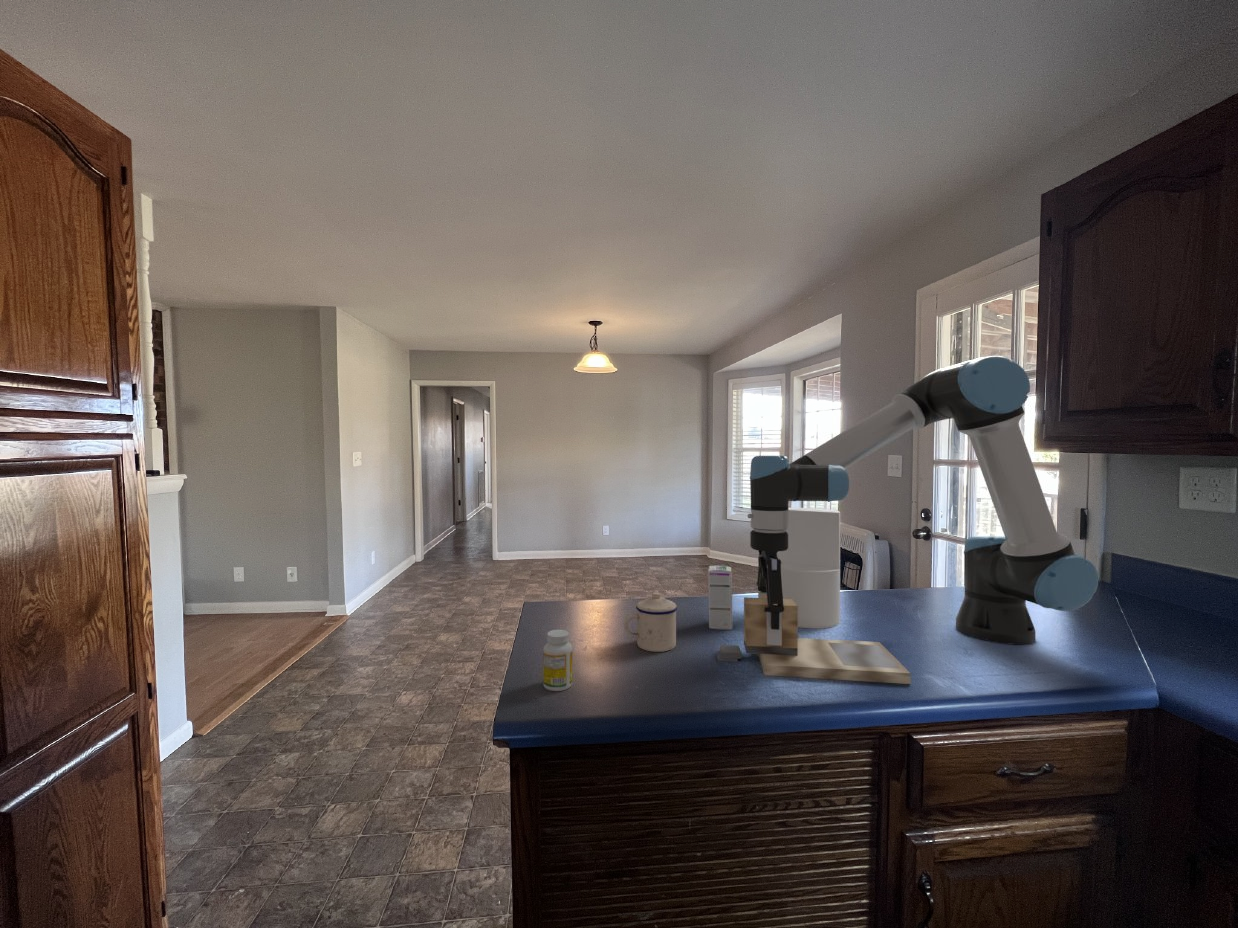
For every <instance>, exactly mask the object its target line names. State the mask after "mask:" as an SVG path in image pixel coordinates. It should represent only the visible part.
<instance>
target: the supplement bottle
mask: <svg viewBox="0 0 1238 928" xmlns="http://www.w3.org/2000/svg"><path fill="white" fill-rule="evenodd" d="M569 640H570V633H569V631H567V630H565V629H552V630H550V631H548V632H547V633H546V641H547V643H546V644H545V645H543V649H542V650H543V653H542V654H543V655H542V656H543V657H542V659H543V665H542V669H543V670H542V674H543V675H542V677H543V682H542V683H543V688H544V689H546V690H548V691H551V692H560V691H561V692H562V691H566V690H567V689H569V688H570V687H572V686H573V645H572V644H571V643H570V642H569Z"/></svg>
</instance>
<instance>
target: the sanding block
mask: <svg viewBox="0 0 1238 928" xmlns="http://www.w3.org/2000/svg"><path fill="white" fill-rule="evenodd" d="M773 605H777V604H773ZM783 606H784V612H782V646H778V645H767V612H764V608H765V607H768V603H767V598H758V597H746V596H745V597H743V645H744V646H743V647H744V648H745V649H744V650H745V653H746V654H757V655H758V654H774V655H792V656H798V638H799V636H798V634H799V633H798V628H799V627H798V606H797V604H796V603H795V602H794V600H793V599H783Z"/></svg>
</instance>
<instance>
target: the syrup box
mask: <svg viewBox="0 0 1238 928" xmlns="http://www.w3.org/2000/svg"><path fill="white" fill-rule="evenodd" d="M707 570H708V571H707V580H708V581H707V583H708V584H707V587H708V588H707V589H708V590H707V591H708V597H707V599H708V600H707V601H708V628H709V629H712V630H724V631H733V581H732V579H733V578H732V567H731V566H729V565H709V567H708V569H707Z"/></svg>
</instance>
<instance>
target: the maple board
mask: <svg viewBox="0 0 1238 928" xmlns="http://www.w3.org/2000/svg"><path fill="white" fill-rule="evenodd" d="M757 656H758V659H759V662H760V666H761V668H762V671H763V675H764V676H770V677H771V676H773V677H775V676H776V677H789V678H807V679H822V680H835V681H836V680H837V681H854V682H871V683H886V684H888V683H889V684H900V685H901V684H902V685H903V684H904V685H911V672H910V671H909V670H908V669H907V668H906V667H905V666H904V665H903V664H902V663H901V662H900V661H899V660H898V659H897V658H896V657H895V656H894V655H893V654H892V653H891V652H889V650H888V649H886V647H885V646H884V645H882V643H880V642H879V641H865V640H864V641H863V640H847V639H846V640H844V639H825V638H807V637H806V638H803V637H798V656H792V655H774V654H757Z"/></svg>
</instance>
